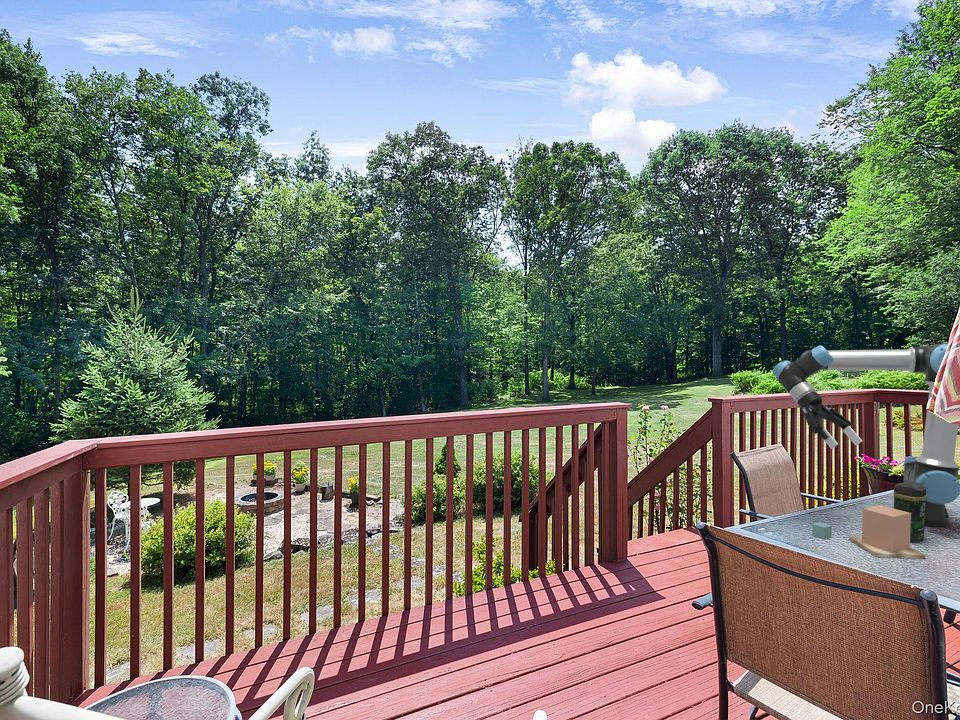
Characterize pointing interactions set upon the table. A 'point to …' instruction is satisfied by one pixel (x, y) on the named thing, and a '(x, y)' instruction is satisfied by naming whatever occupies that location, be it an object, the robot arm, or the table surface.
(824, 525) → the block
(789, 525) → the table surface
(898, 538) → the cover
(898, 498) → the coffee jar
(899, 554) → the pad
